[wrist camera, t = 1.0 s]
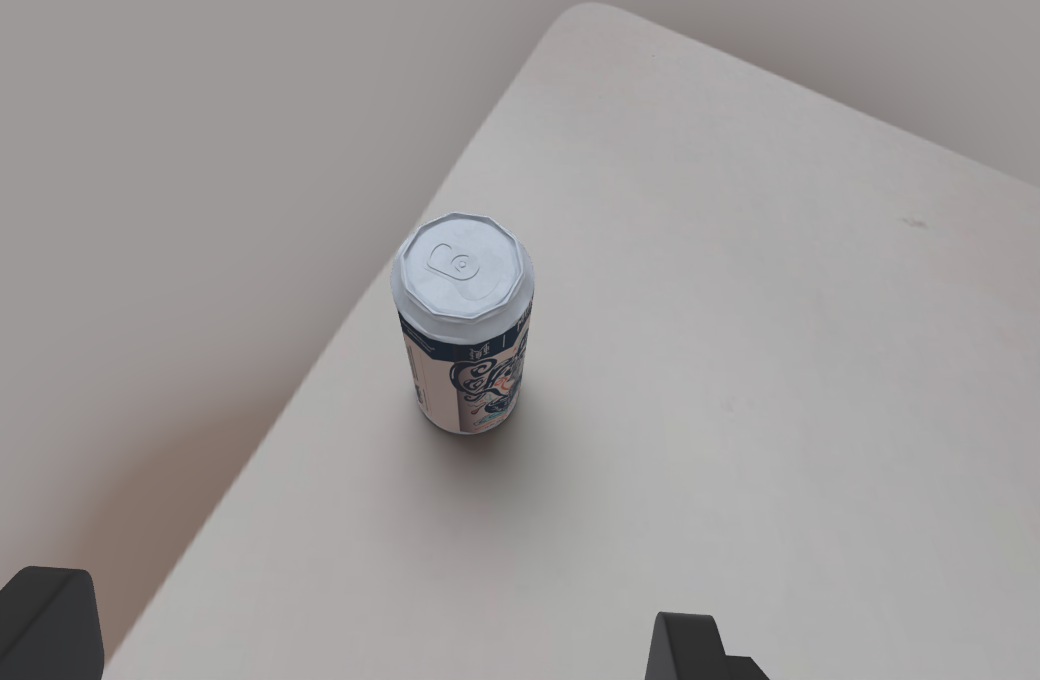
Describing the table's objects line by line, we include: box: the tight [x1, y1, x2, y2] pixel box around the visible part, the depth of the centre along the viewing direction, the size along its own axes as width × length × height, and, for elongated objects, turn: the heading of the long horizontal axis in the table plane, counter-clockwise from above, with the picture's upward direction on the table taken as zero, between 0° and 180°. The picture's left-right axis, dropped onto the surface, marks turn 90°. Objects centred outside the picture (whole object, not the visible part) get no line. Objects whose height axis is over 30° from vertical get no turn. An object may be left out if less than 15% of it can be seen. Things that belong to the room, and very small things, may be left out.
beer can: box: [391, 211, 535, 434], centre depth 30 cm, size 5×5×12 cm
